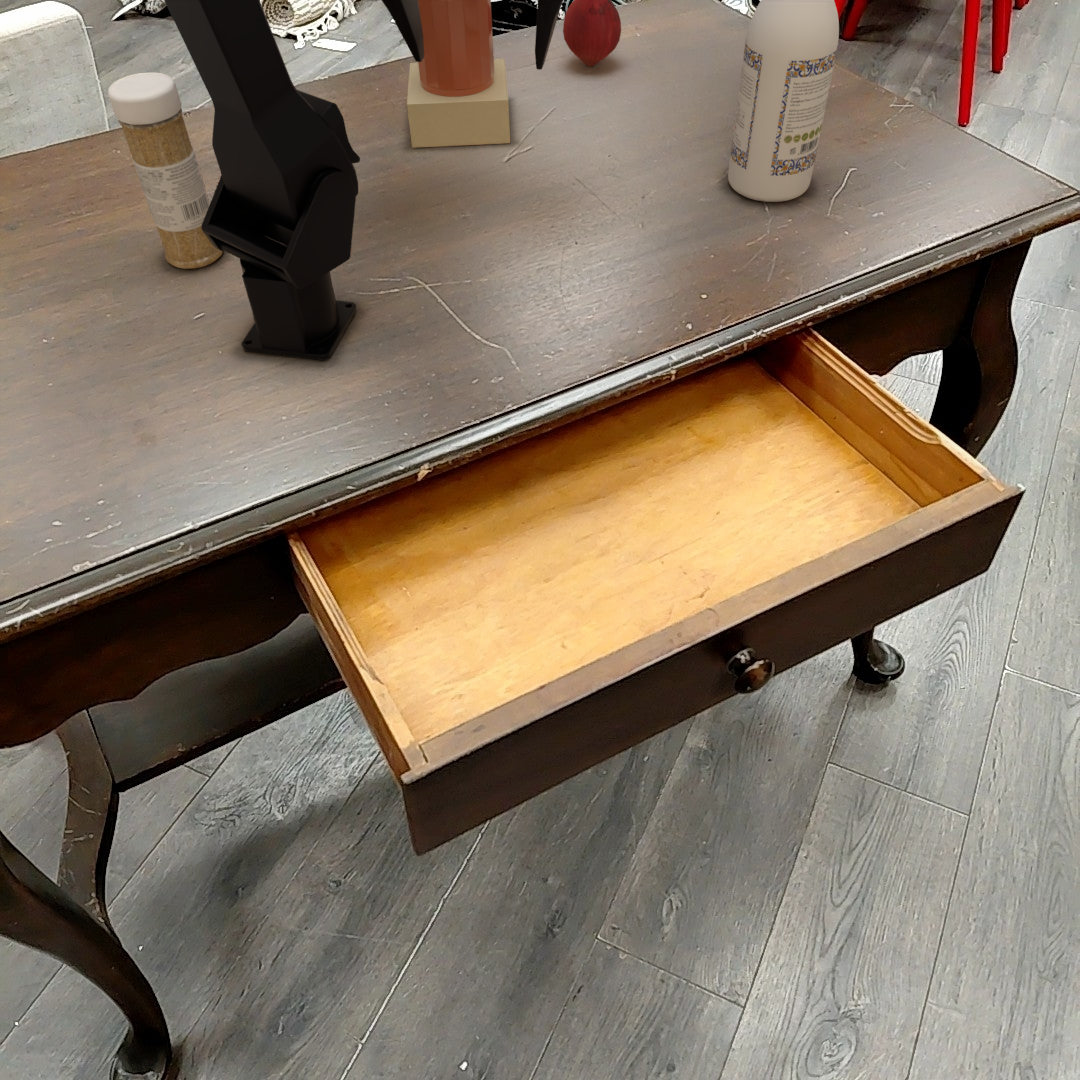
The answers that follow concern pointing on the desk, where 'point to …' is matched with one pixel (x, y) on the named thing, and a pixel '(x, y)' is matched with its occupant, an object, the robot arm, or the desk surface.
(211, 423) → the desk surface
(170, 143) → the sprinkles bottle
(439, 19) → the cup
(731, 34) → the desk surface
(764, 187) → the bath foam
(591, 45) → the onion
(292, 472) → the desk surface
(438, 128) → the stand
